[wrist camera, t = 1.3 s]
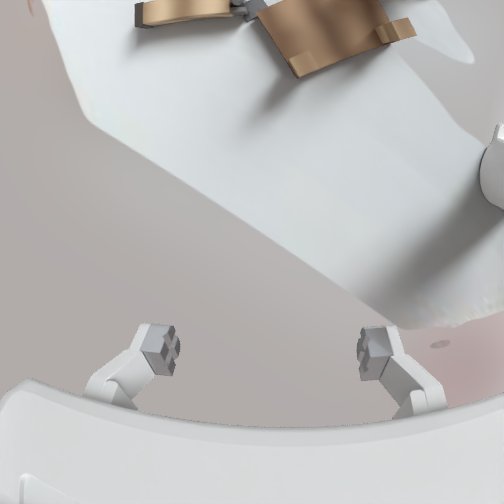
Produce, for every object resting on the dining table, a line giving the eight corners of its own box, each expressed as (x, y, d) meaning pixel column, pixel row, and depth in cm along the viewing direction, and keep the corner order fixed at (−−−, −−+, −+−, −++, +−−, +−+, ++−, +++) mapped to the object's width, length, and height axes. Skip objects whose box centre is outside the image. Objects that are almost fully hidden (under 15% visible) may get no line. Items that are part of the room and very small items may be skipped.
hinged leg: (248, -6, 28) (245, -13, 25) (248, 17, 30) (244, 12, 27) (146, 7, 29) (134, 4, 26) (146, 28, 32) (134, 26, 29)
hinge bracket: (258, -7, 28) (254, -15, 24) (270, 10, 30) (268, 3, 26) (235, 5, 29) (228, -3, 26) (246, 21, 31) (241, 16, 27)
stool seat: (357, -22, 24) (373, -41, 17) (393, 41, 29) (420, 37, 22) (257, 15, 30) (248, 1, 23) (296, 78, 35) (298, 80, 28)
